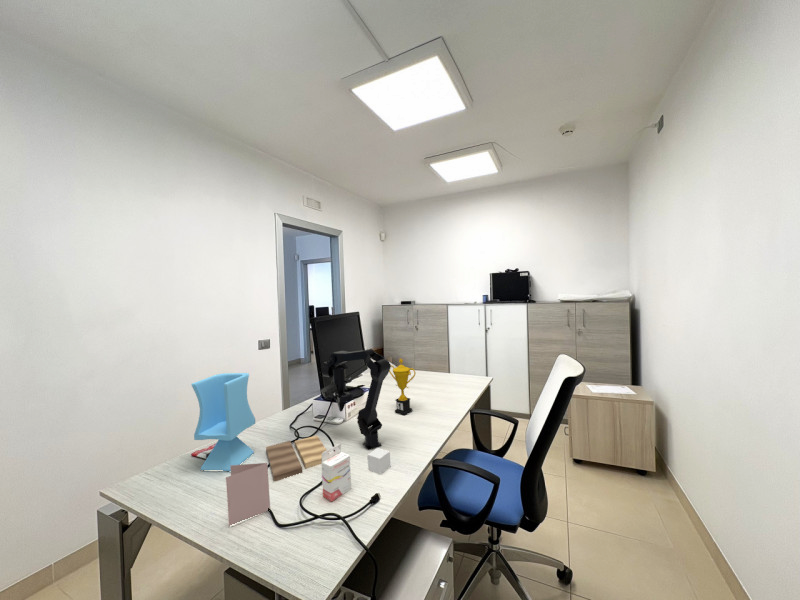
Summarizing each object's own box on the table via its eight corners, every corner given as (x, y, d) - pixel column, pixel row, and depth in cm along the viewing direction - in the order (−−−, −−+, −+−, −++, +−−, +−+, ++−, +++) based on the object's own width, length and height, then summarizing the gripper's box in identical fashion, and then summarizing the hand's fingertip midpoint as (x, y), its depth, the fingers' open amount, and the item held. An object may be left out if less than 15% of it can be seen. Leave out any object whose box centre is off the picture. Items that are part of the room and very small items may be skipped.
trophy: (384, 411, 172) (382, 358, 172) (396, 406, 180) (393, 355, 179) (412, 418, 160) (409, 361, 160) (422, 412, 168) (420, 358, 167)
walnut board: (302, 472, 116) (302, 467, 116) (274, 482, 111) (273, 476, 111) (290, 445, 139) (289, 440, 139) (266, 451, 134) (266, 447, 134)
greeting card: (271, 507, 97) (268, 461, 97) (261, 525, 90) (258, 475, 90) (234, 510, 97) (231, 463, 97) (222, 528, 89) (218, 478, 89)
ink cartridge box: (332, 502, 98) (329, 457, 98) (322, 496, 101) (320, 452, 101) (352, 488, 105) (349, 446, 105) (342, 483, 108) (340, 442, 108)
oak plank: (330, 460, 123) (330, 455, 123) (305, 468, 118) (305, 463, 118) (317, 439, 143) (316, 435, 143) (294, 445, 138) (294, 441, 138)
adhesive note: (368, 470, 116) (367, 454, 115) (378, 462, 120) (377, 447, 120) (380, 474, 112) (379, 458, 112) (390, 466, 117) (389, 451, 117)
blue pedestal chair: (196, 472, 120) (190, 383, 119) (224, 451, 135) (219, 373, 135) (232, 473, 118) (227, 383, 117) (257, 452, 133) (252, 372, 133)
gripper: (317, 377, 148) (318, 409, 148) (328, 386, 132) (330, 422, 132) (339, 373, 154) (341, 404, 154) (352, 381, 137) (354, 416, 138)
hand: (341, 411), depth 144 cm, fingers closed
